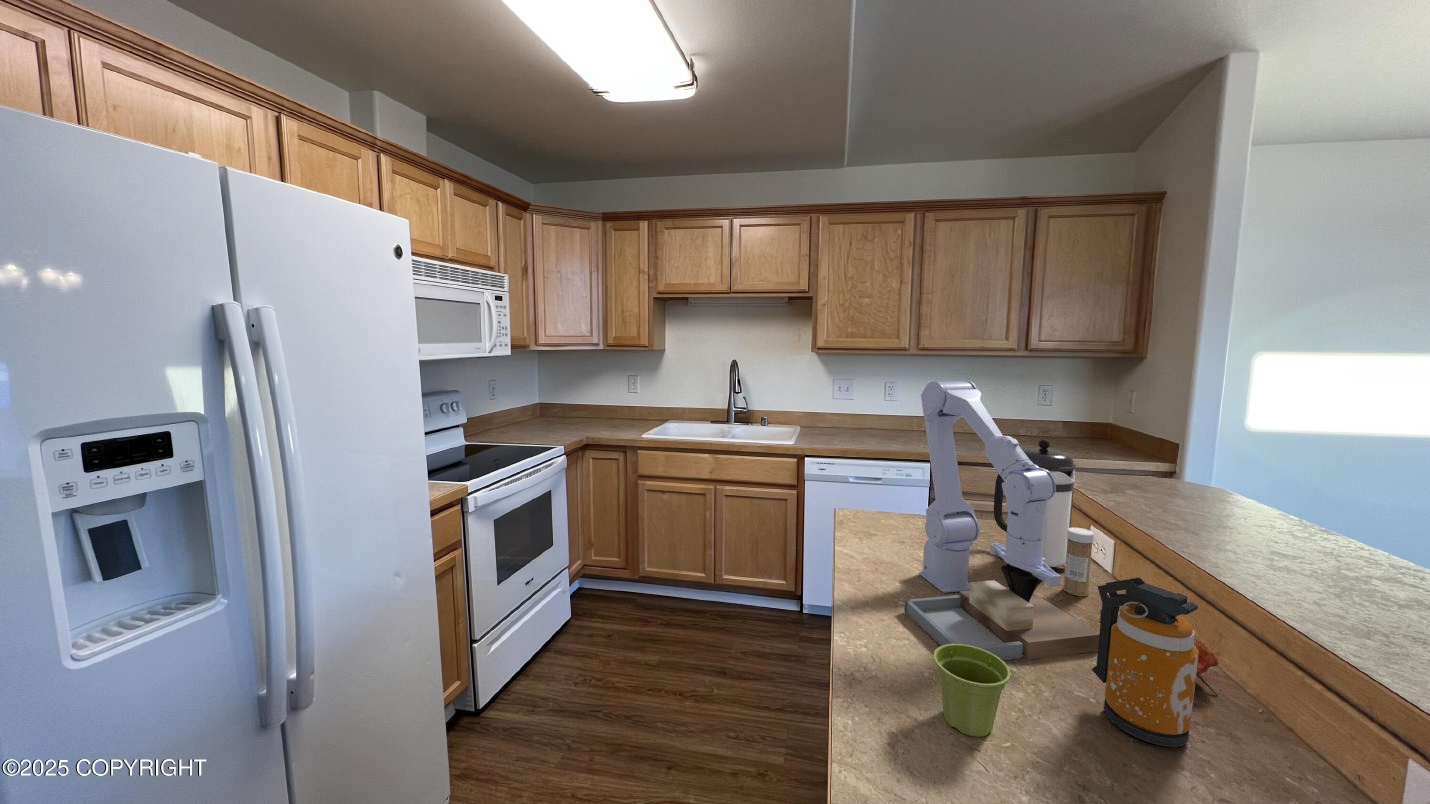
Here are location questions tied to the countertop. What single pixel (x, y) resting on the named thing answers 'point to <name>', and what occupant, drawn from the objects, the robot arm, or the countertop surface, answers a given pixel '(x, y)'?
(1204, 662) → the pomegranate
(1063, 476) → the coffee press
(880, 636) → the countertop surface
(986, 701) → the plant pot
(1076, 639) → the walnut plate
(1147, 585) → the canister
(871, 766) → the countertop surface
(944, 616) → the box
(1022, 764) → the countertop surface
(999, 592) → the cream rectangular box
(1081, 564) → the sprinkles bottle
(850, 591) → the countertop surface
